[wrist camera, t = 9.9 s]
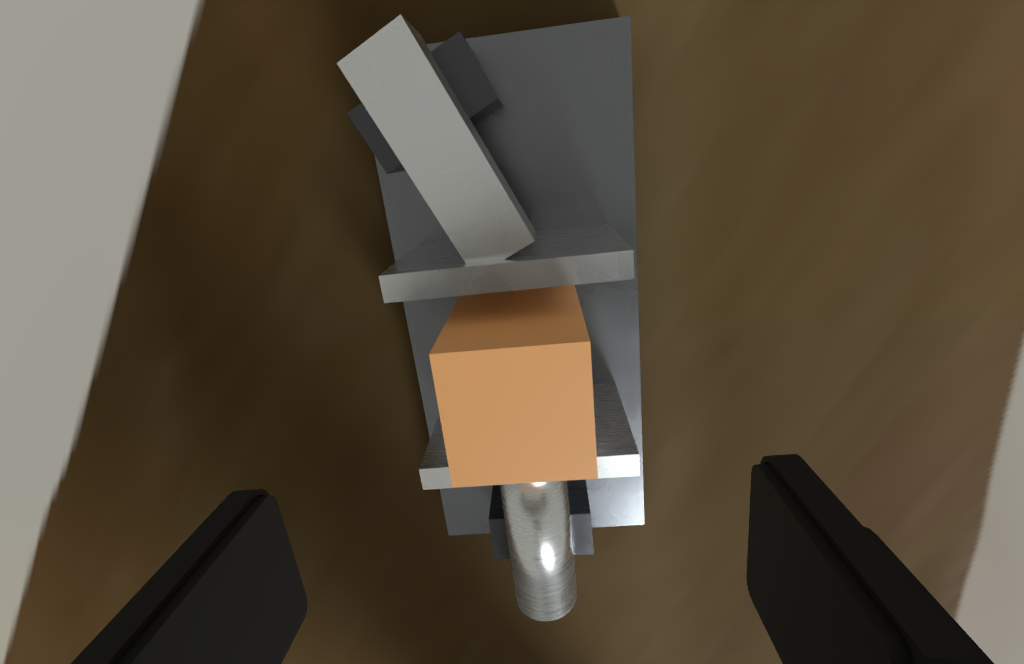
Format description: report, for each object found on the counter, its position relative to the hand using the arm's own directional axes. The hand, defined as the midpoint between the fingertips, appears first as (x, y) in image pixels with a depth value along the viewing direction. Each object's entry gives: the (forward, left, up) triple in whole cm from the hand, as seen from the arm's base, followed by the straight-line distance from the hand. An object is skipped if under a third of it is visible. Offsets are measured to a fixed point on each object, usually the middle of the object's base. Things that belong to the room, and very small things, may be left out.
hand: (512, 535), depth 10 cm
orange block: (+1, 0, -11) cm, 11 cm away
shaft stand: (+1, 0, -12) cm, 12 cm away
